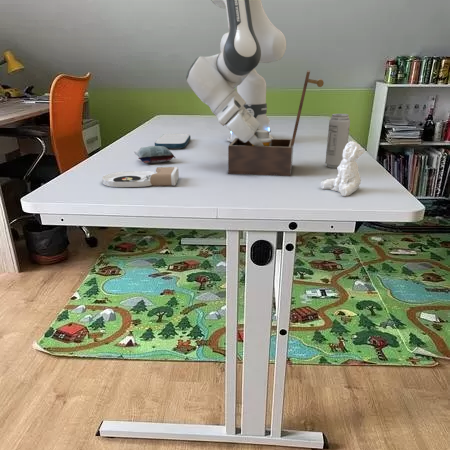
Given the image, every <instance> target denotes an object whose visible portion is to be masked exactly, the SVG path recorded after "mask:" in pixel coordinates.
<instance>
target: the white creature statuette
mask: <svg viewBox="0 0 450 450" xmlns="http://www.w3.org/2000/svg"><path fill="white" fill-rule="evenodd" d="M365 151H366V148H362V146H361V145H360V144H359V143H357V142H356V141H353V140H350V141H349V140H348V143H347V144H346V146H345V149H343V154H342V156H343V160H342V161H341V163H340V165H339V166H338V167H337V168H336V169H337V176H336V177H334V178H326V179H325V180H322V181H321V182H320V188H321V190H331V191H335V192H338V193H340V195H341V197H349V196H351V195H352V194H353V193H355V192H356V191H357V190H358V189H360V185H361V183H362V179H361V176H360V173H359V168H360V167H359V166H358V162H357V161H356V160H358V159H360V157H361V156H362V155H363V154H364V153H365Z"/></svg>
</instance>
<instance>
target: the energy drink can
mask: <svg viewBox="0 0 450 450" xmlns="http://www.w3.org/2000/svg"><path fill="white" fill-rule="evenodd" d="M349 116H350V114H348V113H331V117H330V118H329V120H328V129H327V130H328V131H327V142H326V152H325V162H324V163H325V164H326V167H327V168H331V169H337V167H338V166H339V165H340V163H341V161H342V160H343V156H342V154H343V149H345V146H346V144H347V143H349V136H350V128H351V127H350V126H351V120H350V117H349Z"/></svg>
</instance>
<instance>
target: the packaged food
mask: <svg viewBox="0 0 450 450" xmlns="http://www.w3.org/2000/svg"><path fill="white" fill-rule="evenodd" d="M133 153H134V155H135V156H137V157H138V158H137V160H140V161H141V162H142V163H144V164H159V163H166V162H168V161H171V160H173V159H176V155H175V154H174V153H172V151H171V150H169V148H166V147H163V146H155V145H149V146H144V147H143V146H142V147H140V148H139V150H137V151H133Z"/></svg>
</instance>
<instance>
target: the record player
mask: <svg viewBox="0 0 450 450" xmlns="http://www.w3.org/2000/svg"><path fill="white" fill-rule="evenodd" d="M179 178H180V172H179V167H178V166H164V167H163V166H159V167H156V168H155V171H147V170H146V171H118V172H117V171H116V172H112V173H108V174H105V175H103V176H102V179H101V180H102V184H103V185H104V186H107V187H111V188H113V187H114V188H140V187H141V188H143V187H149V186H150V187H151V186H152V187H153V186H154V187H159V186H160V187H162V186H163V187H164V186H167V187H168V186H172V187H173V186H176V184H177V183H178V181H179Z"/></svg>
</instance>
